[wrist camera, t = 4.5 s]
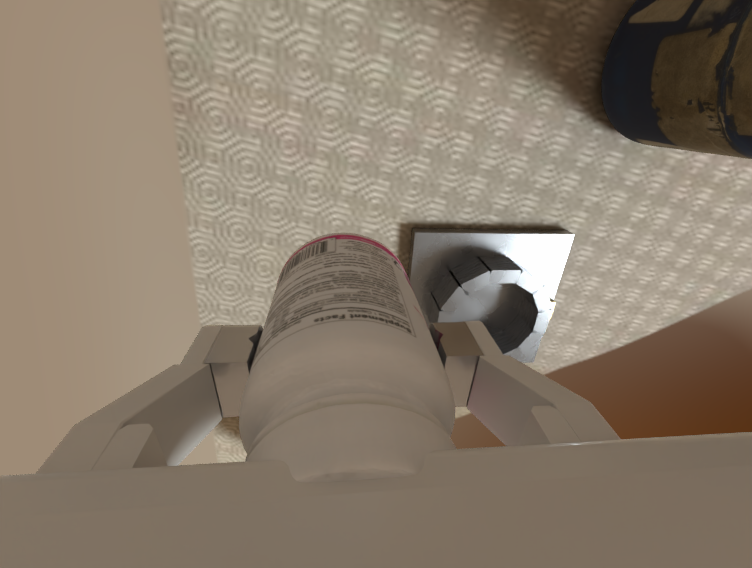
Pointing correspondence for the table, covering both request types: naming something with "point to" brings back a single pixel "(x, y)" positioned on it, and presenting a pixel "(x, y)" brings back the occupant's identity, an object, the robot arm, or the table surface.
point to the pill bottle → (346, 369)
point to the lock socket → (490, 280)
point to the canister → (683, 76)
